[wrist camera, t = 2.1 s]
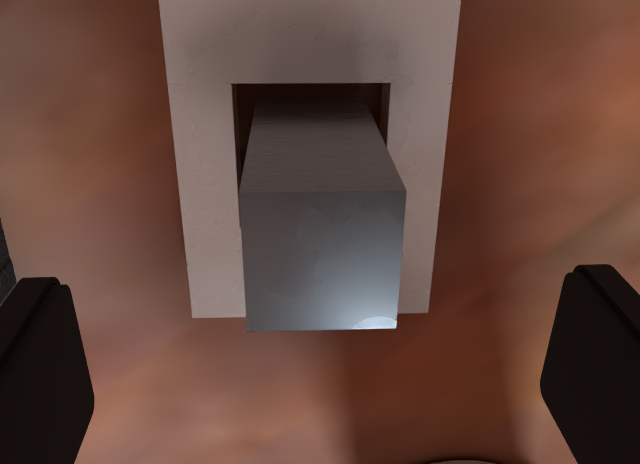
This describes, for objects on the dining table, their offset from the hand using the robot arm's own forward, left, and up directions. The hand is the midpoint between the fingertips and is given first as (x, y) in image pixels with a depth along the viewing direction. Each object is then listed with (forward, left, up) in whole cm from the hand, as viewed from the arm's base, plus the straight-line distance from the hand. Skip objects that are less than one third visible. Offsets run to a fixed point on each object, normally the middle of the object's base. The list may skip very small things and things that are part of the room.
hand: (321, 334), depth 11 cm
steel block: (-1, 0, -14) cm, 14 cm away
